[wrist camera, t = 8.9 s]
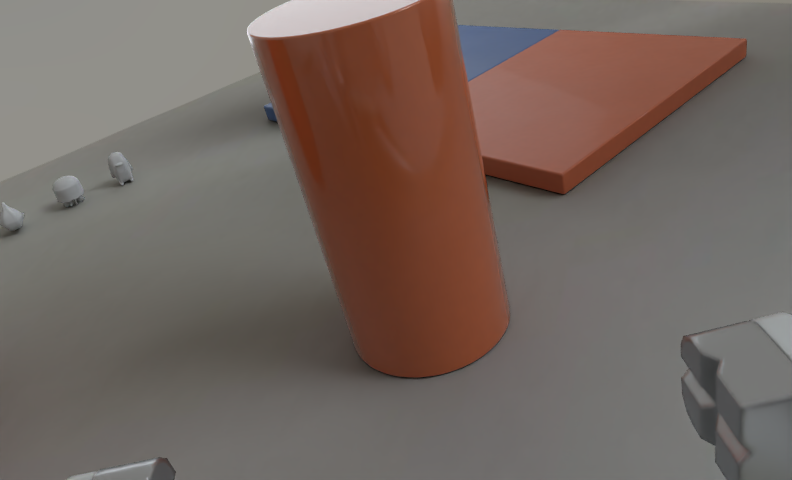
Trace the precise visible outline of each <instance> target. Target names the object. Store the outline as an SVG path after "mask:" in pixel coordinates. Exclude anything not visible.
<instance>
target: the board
mask: <svg viewBox="0 0 792 480" xmlns="http://www.w3.org/2000/svg"><path fill="white" fill-rule="evenodd" d="M458 30H459V35H460V41H461V46H462V52H463V57H464V63H465V68H466V73H467V79H468V84H469V90H470V95H471V100H472V106H473V111H474V117H475V122H476V128H477V133H478V138H479V144H480V149H481V155H482V160H483V166H484V171H485V175H489V176H493V177H497V178H501V179H505V180H509V181H513V182H517V183H521V184H525V185H529V186H533V187H537V188H541V189H545V190H548V191H552V192H556V193H560V194H566V193H567V192H568V191H570V190H571V189H572V188H574V187H575V186H576V185H577V184H579V183H580V182H581V181H583V180H584V179H585V178H587V177H588V176H589V175H591V174H592V173H593V172H595V171H596V170H597V169H599V168H600V167H601V166H602V165H604V164H605V163H606V162H608V161H609V160H610V159H612V158H613V157H614V156H616V155H617V154H618V153H620V152H621V151H622V150H624V149H625V148H626V147H627V146H629V145H630V144H631V143H633V142H634V141H635V140H637V139H638V138H639V137H641V136H642V135H643V134H645V133H646V132H647V131H649V130H650V129H651V128H652V127H654V126H655V125H656V124H658V123H659V122H660V121H662V120H663V119H664V118H666V117H667V116H668V115H670V114H671V113H672V112H674V111H675V110H676V109H677V108H679V107H680V106H681V105H683V104H684V103H685V102H687V101H688V100H689V99H691V98H692V97H693V96H695V95H696V94H697V93H699V92H700V91H701V90H702V89H704V88H705V87H706V86H708V85H709V84H710V83H712V82H713V81H714V80H716V79H717V78H718V77H720V76H721V75H722V74H724V73H725V72H726V71H727V70H729V69H730V68H731V67H733V66H734V65H735V64H737V63H738V62H739V61H741V60H742V59H743V58H745V57H746V48H747V39H740V38H719V37H698V36H677V35H656V34H635V33H614V32H593V31H572V30H550V29H529V28H508V27H487V26H466V25H458ZM264 108H265V111H266V114H267V117H268V119H269V120H273V121H277V119H276V116H275V113H274V110H273V107H272V104H271V103H269V104H267V105H265V106H264Z"/></svg>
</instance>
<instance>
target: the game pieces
mask: <svg viewBox="0 0 792 480" xmlns="http://www.w3.org/2000/svg"><path fill="white" fill-rule="evenodd" d="M108 164H109V169H110V172H111V175H112V177H113V178H116V179H117V180H118V181H119V183H120V184H121V185H124V183H123V182H126V181H128V180H131V181H133V180H134V179H133V176H132V172H131V171H132V170H133V168H132V166H131V165H130V163H129V162H128V161H127V159H126V158H125V157H124V156H123V155H122V154H121V153H120V152H113V153H111V154H110V155H109V157H108ZM53 191H54V194H55V196H56V198H57V200H58V202H61V203H64V206H66V207H69V205H71V206H72V205H73V200H74V202H75V203H76V204H78V203H77V201H79V202H82V201H83V199H85V197H84V196H82V195H83V193H84V189H83V188H82V186H81V184H80V182H79V180H78V179H77V178H75V177H73V176H64V177H61V178H59V179H57V180H56V181H55V182H54V184H53ZM76 200H77V201H76ZM24 216H25V215H24V212H22V213H20V212H19V211H18V210H16V209H13V208H10V207H8V206H7V205H6V204H5V203H4V202H3V203H2V211H1V214H0V225H1V226H3V227H5V228H6V229H8V230H10V231H14V230H16V229H18V228H21V227H22V223H23V219H24Z"/></svg>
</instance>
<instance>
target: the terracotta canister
mask: <svg viewBox="0 0 792 480" xmlns="http://www.w3.org/2000/svg"><path fill="white" fill-rule="evenodd" d="M247 34H248V37H249V40H250V43H251V46H252V49H253V51H254V55H255V57H256V60H257V63H258V66H259V69H260V72H261V75H262V78H263V81H264V84H265V87H266V90H267V92H268V95H269V98H270V101H271V104H272V107H273V110H274V113H275V116H276V119H277V122H278V125H279V127H280V130H281V133H282V136H283V139H284V142H285V145H286V148H287V151H288V154H289V157H290V160H291V162H292V165H293V168H294V171H295V174H296V177H297V180H298V183H299V186H300V189H301V192H302V195H303V197H304V200H305V203H306V206H307V209H308V212H309V215H310V218H311V221H312V224H313V227H314V230H315V232H316V235H317V238H318V241H319V244H320V247H321V250H322V253H323V256H324V259H325V262H326V265H327V267H328V270H329V273H330V276H331V279H332V282H333V285H334V288H335V291H336V294H337V297H338V300H339V302H340V305H341V308H342V311H343V314H344V317H345V320H346V323H347V326H348V329H349V332H350V335H351V337H352V340H353V343H354V346H355V349H356V351H357V353H358V355H359V356H360V357H361V359H362V360H363V361H364V362H365V363H367V364H368V365H369V366H371V367H372V368H374V369H376V370H378V371H380V372H383V373H386V374H389V375H393V376H398V377H408V378H419V377H430V376H436V375H441V374H445V373H448V372H452V371H454V370H457V369H460V368H462V367H464V366H467V365H469V364H471V363H473V362H474V361H476V360H478V359H479V358H481V357H482V356H484V355H485V354H486V353H487V352H489V351H490V350H491V349H492V348H493V347H494V346H495V345H496V344H497V343H498V342H499V340H500V339H501V338H502V336H503V334H504V333H505V331H506V329H507V326H508V323H509V319H510V307H509V301H508V296H507V290H506V285H505V279H504V274H503V269H502V263H501V258H500V252H499V247H498V241H497V236H496V231H495V225H494V220H493V214H492V209H491V204H490V198H489V193H488V187H487V182H486V176H485V171H484V166H483V160H482V155H481V149H480V144H479V138H478V133H477V128H476V122H475V117H474V111H473V106H472V100H471V95H470V90H469V84H468V79H467V73H466V68H465V63H464V57H463V52H462V46H461V41H460V35H459V30H458V25H457V19H456V14H455V8H454V3H453V0H291V1H289V2H287V3H284V4H282V5H280V6H278V7H276V8H274V9H272V10H270V11H268V12H266V13H264V14H263V15H261V16H260V17H258V18H257V19H256V20H254V21H253V22H252V23H251V24H250V25H249V27H248V29H247Z"/></svg>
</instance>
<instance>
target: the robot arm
mask: <svg viewBox="0 0 792 480" xmlns="http://www.w3.org/2000/svg"><path fill="white" fill-rule="evenodd" d="M681 357H682V359H683V360H684V362H685V363H686V365H687V366H688V370H687V371H686V373H685V374H684V375H683V377H682V378H681V382H682V395H683V399H684V403H685V407H686V410H687V413H688V416H689V418H690V420H691V422H692V424H693V426H694V428H695V430H696V431H697V433H698V435H699V436H700V438H701V439H703V440H705V441H707V442H709V443H711V444H713V445H714V446H715V462H716V464H717V465H718V467H719V468H720V470H721V472H722V473H723V475H724V476H725V478H726V479H727V480H792V316H791V315H790V314H788V313H785V312H780V313H776V314H772V315H767V316H763V317H759V318H755V319H751V320H749V321H744V322H740V323H736V324H732V325H727V326H723V327H719V328H715V329H711V330H707V331H702V332H698V333H694V334H690V335H686V336H683V339H682V342H681ZM175 474H176V471H175V470H174V468H173V467H172V465H171V464H170V462H169V461H168V459H167V458H161V457H159V458H154V459H149V460H144V461H139V462H134V463H129V464H124V465H119V466H115V467H110V468H105V469H100V470H99V471H94V472H89V473H84V474H79V475H74V476H70V477H69V478H67V479H66V480H174V479H175Z"/></svg>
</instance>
